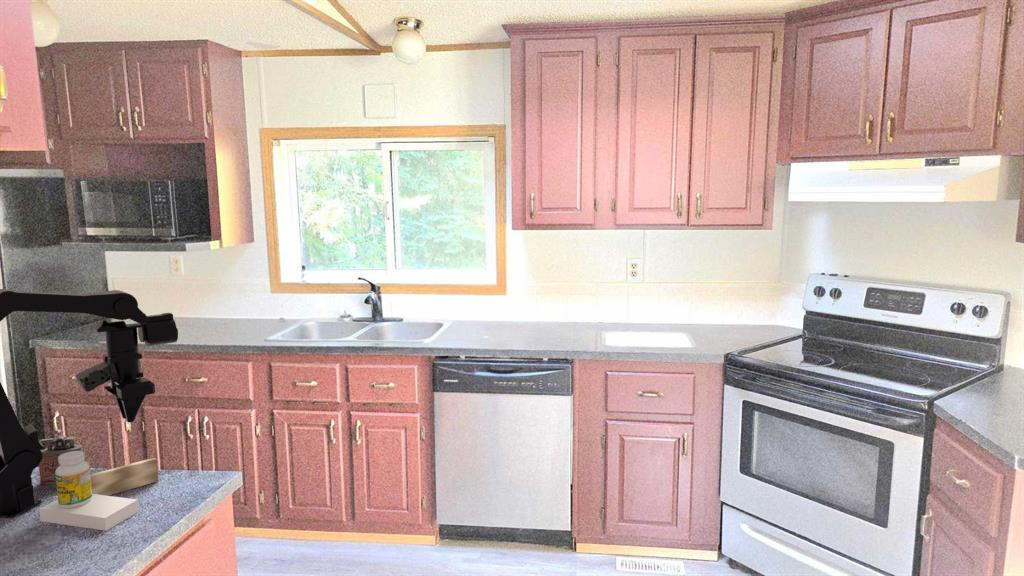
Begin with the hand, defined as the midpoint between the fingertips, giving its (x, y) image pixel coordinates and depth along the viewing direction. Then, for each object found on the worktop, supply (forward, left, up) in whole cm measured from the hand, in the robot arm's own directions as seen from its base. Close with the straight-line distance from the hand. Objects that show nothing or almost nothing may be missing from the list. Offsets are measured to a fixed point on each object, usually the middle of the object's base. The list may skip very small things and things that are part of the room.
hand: (128, 420), depth 134 cm
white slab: (+6, -16, -13) cm, 22 cm away
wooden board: (+4, -6, -13) cm, 15 cm away
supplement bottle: (+3, -16, -11) cm, 20 cm away
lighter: (-13, -5, -13) cm, 19 cm away
